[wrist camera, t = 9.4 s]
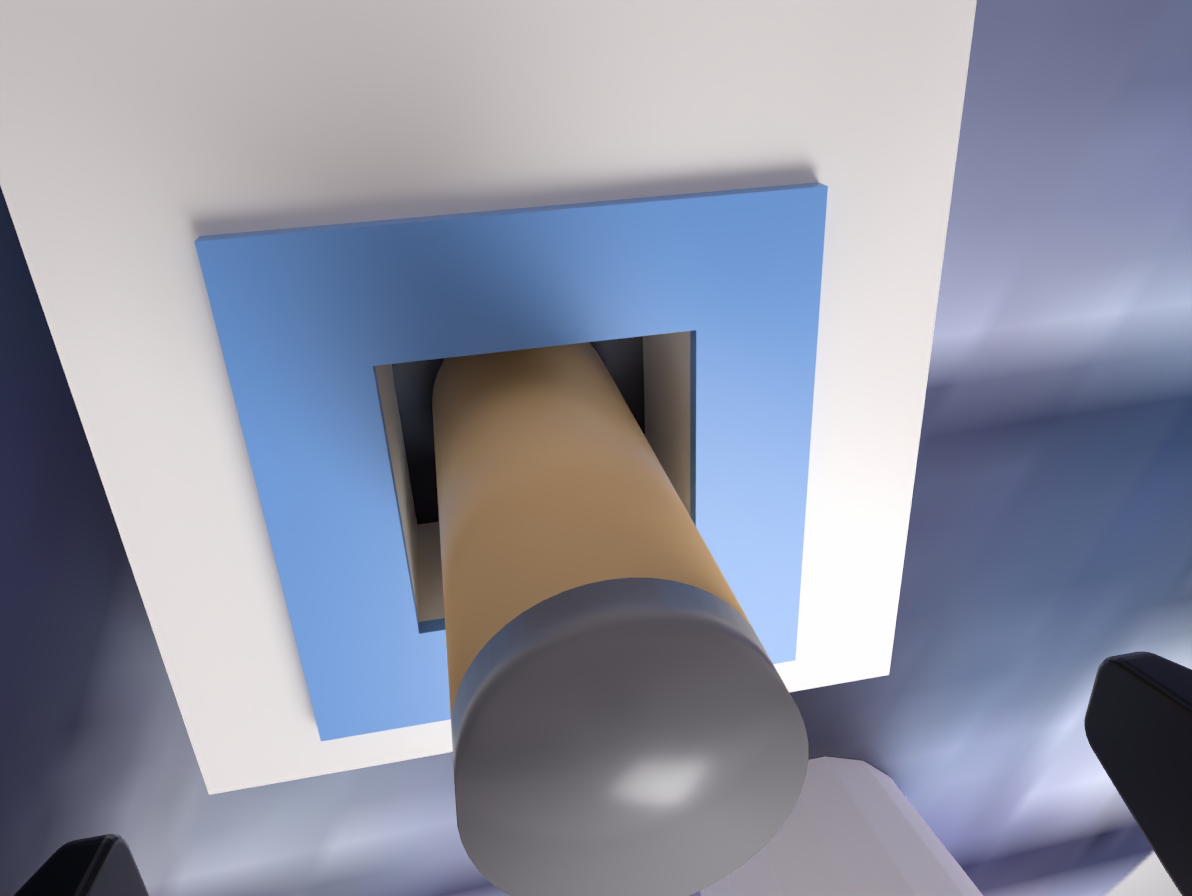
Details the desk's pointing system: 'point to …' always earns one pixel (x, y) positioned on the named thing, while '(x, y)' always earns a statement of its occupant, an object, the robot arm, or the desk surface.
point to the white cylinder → (849, 843)
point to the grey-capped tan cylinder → (594, 646)
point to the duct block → (475, 306)
